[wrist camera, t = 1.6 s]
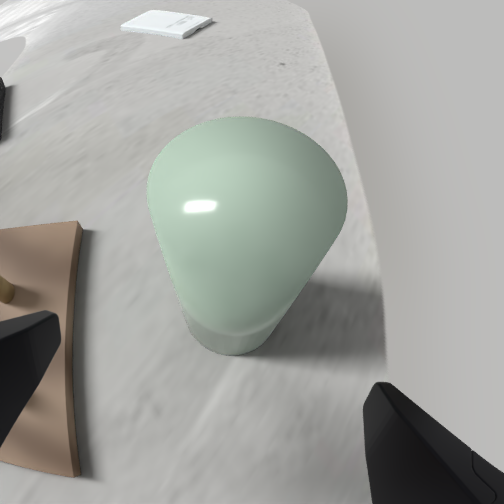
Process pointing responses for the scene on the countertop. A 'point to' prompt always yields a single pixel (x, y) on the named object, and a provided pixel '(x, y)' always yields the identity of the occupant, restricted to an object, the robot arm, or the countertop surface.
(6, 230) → the wooden peg board
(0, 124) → the disk drive
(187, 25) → the external hard drive
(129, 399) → the countertop surface
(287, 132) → the canister
